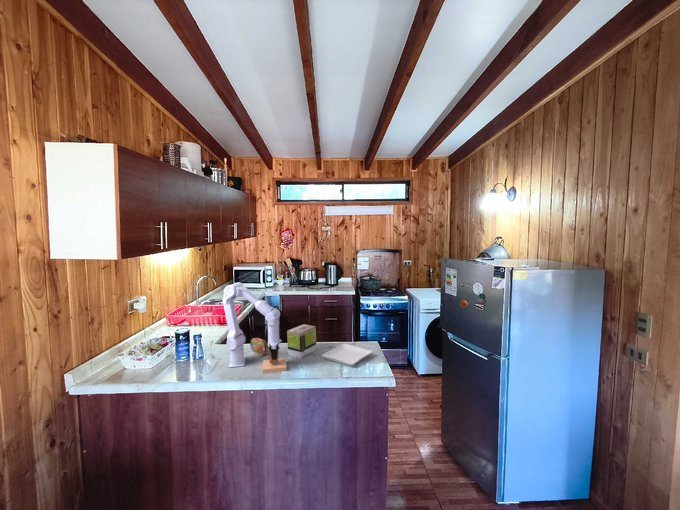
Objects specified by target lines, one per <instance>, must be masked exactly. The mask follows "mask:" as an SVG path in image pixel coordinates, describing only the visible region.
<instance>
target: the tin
mask: <svg viewBox="0 0 680 510" xmlns="http://www.w3.org/2000/svg"><path fill="white" fill-rule="evenodd" d="M249 345H250V348H251V351H252V352H253V353H255V354H257V355H261V356H263V355H266V354H267V353H269V349H268V347H269V343H268V341H266V340H265V339H262V338H260V337H254V338H253V337H252V338H251V340H250V344H249Z"/></svg>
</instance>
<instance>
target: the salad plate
mask: <svg viewBox="0 0 680 510" xmlns="http://www.w3.org/2000/svg"><path fill="white" fill-rule="evenodd" d="M372 353H373V351H372V350H369V349H366V348H362V347H359V346H355V345H351V344H347V343H341V344H340V345H338V346H336V347H334V348H332V349H329V351H326V352H324V353H322V354H321V356H322V358H323V359H326V360H328V361H332V362H335V363H338V362H339V364H342V365H345V366H349V367H352V366H354V365H355V364H357V363H359V362H361V361H362V360H363V359H366V358H367V357H369V356H370V355H372Z"/></svg>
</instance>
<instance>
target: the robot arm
mask: <svg viewBox="0 0 680 510" xmlns="http://www.w3.org/2000/svg"><path fill="white" fill-rule="evenodd" d="M237 298H244V299H246V300H247V301H248V302H250V303H251V304H253V305H254V307H255V310H256V311H258V312H259V313H260V314H261V315H263V316H264V318H265V321H266V322H267V344H268V352H269V351H270V353H271V357H272V360H276V359H277V353H278V354H279V350H280V346H279V345H280V343H282V339H280V321H279V318H280V316H281V311H280V310H279V309H278V308H276V307H275V308H274V307H273V306H271V305H270V304H268V302H267V301H266V300H264V299H259V298H258V297H257V296H256V295H254V294H253V293H252V292H251V291H250V290H249V289H248V288H247V286H246V285H244V284H243V283H242V282H235V283H233V284H232V283H231V284H229V285H227V286H225V288H224V289H223V297H222V303H223V309H224V313H225V314H224V315H225V318H226V323H227V328H228V333H227V336H226V347H227V348H228V350H229V364H228V368H235V367H238V368H239V367H244V366H245V363H246V360H247V359H246V358H245V356H244V355H245V353H244V352H245V351H244V344H245V343H246V340H247V339H246V335H244V332H243V330H242V329H241V328H240V325H239V320H238V316H237V309H236V306H235V300H236V299H237Z"/></svg>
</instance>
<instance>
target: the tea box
mask: <svg viewBox="0 0 680 510" xmlns="http://www.w3.org/2000/svg"><path fill="white" fill-rule="evenodd" d="M316 329H317V327H316V326H315V325H309V324H301V325H297V326H296V327H292V328H291V329H288V330H287V331H286V336H287V355H288V356H290V357H291V356H292V357H294V356H295V358H297V359H301V358H303V357H305V356H307V355H309V354H311V353H313V352H315V351H317V349H318V348H317V347H318V346H317V344H318V343H317V332H316V331H317V330H316Z"/></svg>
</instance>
